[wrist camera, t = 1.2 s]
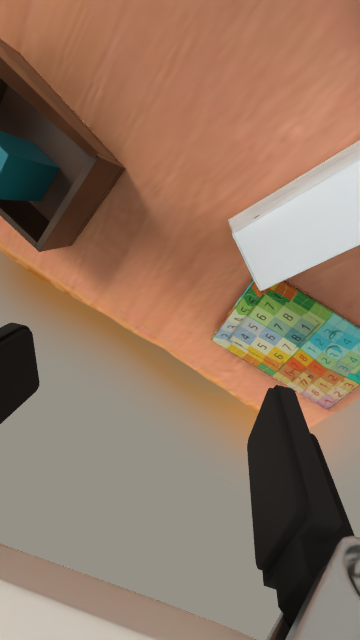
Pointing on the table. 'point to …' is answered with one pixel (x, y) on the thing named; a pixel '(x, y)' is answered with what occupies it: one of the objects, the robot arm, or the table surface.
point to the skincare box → (302, 221)
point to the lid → (40, 101)
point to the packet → (24, 169)
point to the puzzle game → (294, 341)
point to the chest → (74, 165)
